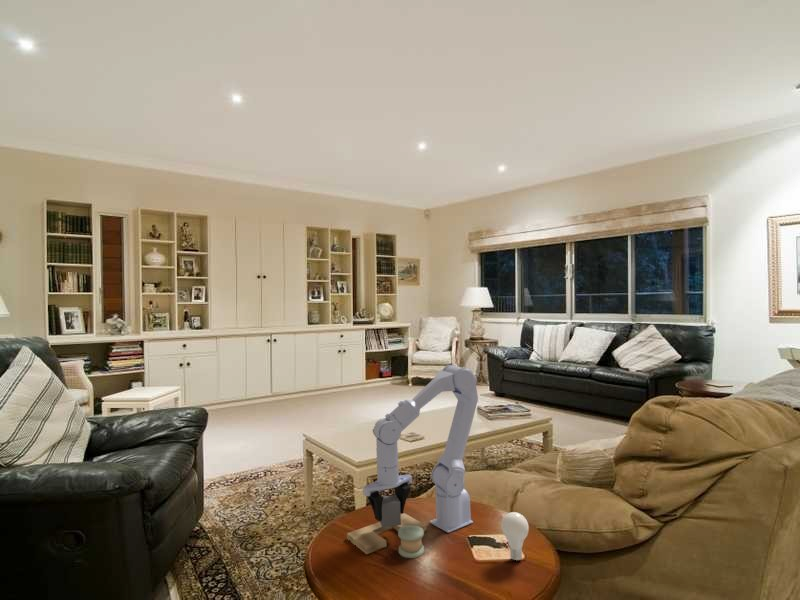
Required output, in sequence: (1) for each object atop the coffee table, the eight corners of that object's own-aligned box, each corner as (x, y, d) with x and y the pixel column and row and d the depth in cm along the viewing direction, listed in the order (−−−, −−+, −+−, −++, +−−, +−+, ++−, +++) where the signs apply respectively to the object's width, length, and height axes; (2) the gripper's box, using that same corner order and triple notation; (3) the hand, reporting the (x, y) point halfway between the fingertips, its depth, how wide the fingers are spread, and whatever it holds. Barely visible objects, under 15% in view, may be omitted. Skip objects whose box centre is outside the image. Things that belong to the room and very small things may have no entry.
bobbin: (413, 542, 121) (413, 522, 121) (429, 552, 116) (428, 531, 116) (393, 550, 117) (393, 530, 117) (408, 561, 112) (408, 540, 112)
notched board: (404, 518, 135) (404, 513, 135) (426, 530, 127) (426, 525, 127) (347, 538, 124) (346, 533, 124) (366, 554, 116) (366, 548, 116)
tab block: (396, 516, 127) (395, 494, 127) (400, 524, 122) (400, 501, 123) (378, 519, 126) (377, 497, 126) (382, 527, 121) (381, 504, 121)
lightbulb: (531, 568, 107) (529, 519, 107) (502, 566, 108) (500, 518, 109) (529, 553, 113) (527, 508, 113) (502, 552, 114) (500, 506, 115)
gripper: (401, 455, 132) (402, 503, 132) (356, 467, 124) (358, 518, 123) (416, 461, 126) (417, 512, 126) (370, 474, 118) (372, 528, 118)
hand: (389, 516), depth 124 cm, fingers closed on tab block, 6 cm apart
